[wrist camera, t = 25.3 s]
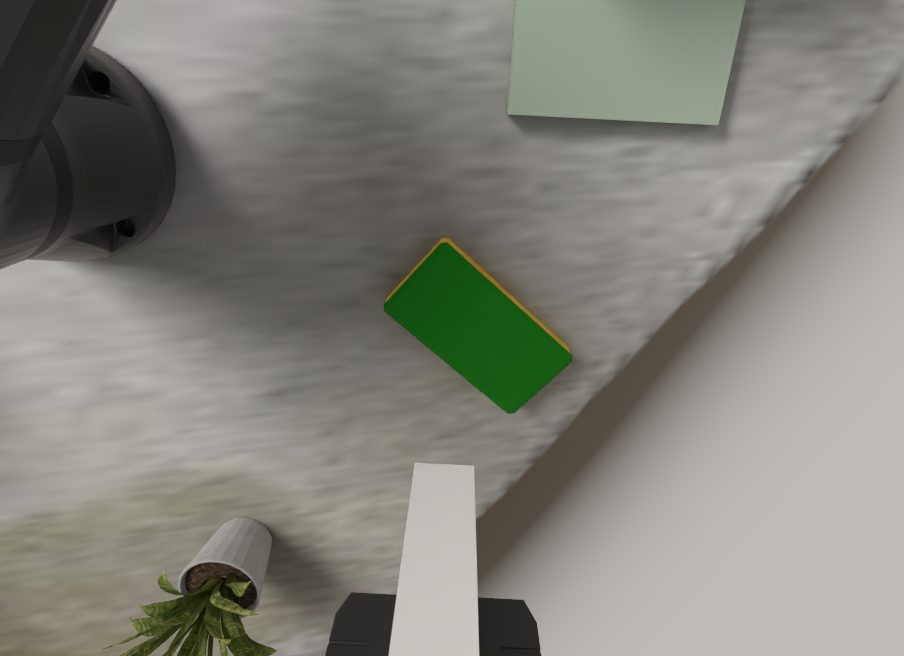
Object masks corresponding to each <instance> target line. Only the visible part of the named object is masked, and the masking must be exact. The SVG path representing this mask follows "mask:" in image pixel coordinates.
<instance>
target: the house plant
mask: <svg viewBox="0 0 904 656" xmlns="http://www.w3.org/2000/svg"><path fill="white" fill-rule="evenodd" d="M271 546H272V537H271V534H270V532H269V531H268V530H267V528H266V527H265V526H264V525H262V524H261V523H260V522H258V521H256V520H253V519H250V518H243V517H238V518H235V519H232V520H229V521H227V522H226V523H224V524H223V525H222V526H221V527H220V528H219V529H218V530H217V532H216V533H215V534H214V535H213V536H212V537H211V539H210V540H209V541H208V542H207V543H206V544H205V546H204V547H203V548H202V549H201V550H200V551H199V553H198V554H197V555H196V556H195V557H194V558H193V560H192V561H191V562H190V563H189V564H188V565H187V567H186V568H185V569H184V570H183V572H182V573H181V575H180V577H179V581H178V589H179V591H178V590H177V589H175V588H174V587H173V586H172V585H171V584H170V583H169V582H168V581H167V579H166V576H165V574H164V573H165V569H164V571H163V573H162V575H161V576H160V578H159V579H158V585H159V586H160V588H161V589H162V590H164V591H165V592H168V593H171V594H174V595H180V596H181V598H178V599H176V600H171V601H165V602H159V603H154V604H150V605H147V606H140V605H139V606H140V607H141V609H142V610H143V611H144V612H145V613H146V614H147V615H148V616H151V617H148V618H140V619H135V620H131V617H130V620H131V622H132V623H133V625H134V626H135V628H136V630H137V631H138V632H139V634H137V635H135V636H133V637H130V638H128V639H126V640H124V641H122V642H119V643H117V644H114V645H112V646H109V647H113V646H116V645H119V644H123V643H125V642H128V641H130V640H132V639H134V638H136V637H138V636H140V635H144V636H147V637H149V636H154V635H156V634H157V635H156V636H154V637H153V638H151V639H149V640H147V641H146V642H144V643H142V644H140V645H138V646H136V647H134V648H132V649H130V650H129V651H127V652H125V653H124V654H122V655H121V656H129V655H130V654H132V653H133V652H135V651H137V650H138V651H137V652H135V653H134V654H132V655H131V656H148V655H149V654H150V653H152V652H153V651H154V650H155V649H156V648H158V647H159V646H160V645H161V644H162V643H164V642H165V641H166V640H167V639H168V638H169V637H170V636H172V635H173V634H174V633H175V632H176V631H177V630H178V629H179V628H180V627H181V626H182V627H181V629H180V630H179V632H178V633H177V635H176V637H175V638H174V640H173V642H172V643H171V645H170V647H169V649H168V651H167V652H166V653H165V654H164V655H163V656H173V654H174V653H175V651H176V649H177V648H178V646H179V644H180V643H181V641H182V639H183V638H184V636H185V635H186V634H187V633H188V632H189V630H190V629H191V628H192V627H193V628H192V630H191V632H190V634H189V635H188V637H187V638H186V640H185V641H184V643H183V645H182V647H181V649H180V651H179V653H178V655H177V656H206V645H207V639H208V635H209V641H208V656H212V648H213V637H215V638H217V639H219V643H220V651H221V656H228V653H227V649H226V645H227V646H228V648H229V650H230V651H231V652H232V654H233V655H234V656H256V655H257V656H268V655H271V654H273V653H275V652H276V651H278V650H279V649H278V650H275V649H273V648H270V647H267V646H264V645H262V644H259V643H257V642H255V641H253V640H251V639H250V638H249V637H248V635H247V634H246V633H245V630H244V627H243V624H242V622H241V620H240V619H241V618H243V617H246V616H248V615H258V614H256V613H254V612H253V611H254V610H255V609H256V607H257V606H258V604H259V601H260V597H261V592H262V587H263V583H264V578H265V573H266V569H267V564H268V559H269V555H270V550H271ZM197 615H199V616H198V618H197V619H196V620H195V618H196V617H197ZM194 620H195V622H194V623H193V621H194ZM220 620H221V623H220ZM192 623H193V624H192ZM191 624H192V625H191ZM221 626H222V628H221ZM109 647H107V648H109ZM104 649H106V648H104ZM139 649H140V650H139Z"/></svg>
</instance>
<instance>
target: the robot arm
mask: <svg viewBox="0 0 904 656" xmlns="http://www.w3.org/2000/svg"><path fill="white" fill-rule="evenodd" d="M115 2H116V0H0V269H2V268H5V267H7V266H10V265H13V264H15V263H18V262H21V261H23V260H26V259H31V260H52V261H77V262H80V261H91V260H97V259H102V258H106V257H109V256H112V255H114V254H117V253H119V252H121V251H124V250H126V249H128V248H131V247H133V246H135V245H137V244H138V243H140V242H141V241H143V240H144V239H146V238H147V237H148V236H149V235H150V234H151V233H152V232H153V231H154V230H155V229H156V228H157V227H158V226H159V224H160V223H161V221H162V220H163V218H164V217H165V215H166V213H167V211H168V208H169V206H170V203H171V200H172V196H173V192H174V185H175V160H174V153H173V148H172V144H171V140H170V137H169V134H168V131H167V128H166V126H165V123H164V121H163V119H162V117H161V115H160V113H159V111H158V109H157V107H156V106H155V104H154V102H153V101H152V99H151V98H150V96H149V95H148V94H147V92H146V91H145V90H144V88H143V87H142V86H141V85H140V83H139V82H138V81H137V80H136V79H135V78H134V77H133V76H132V75H131V74H130V73H129V72H128V71H127V70H126V69H125V68H124V67H122V66H121V65H120V64H119V63H118V62H116V61H115V60H114V59H112V58H111V57H110V56H108V55H107V54H105V53H104V52H102V51H100V50H99V49H97V48H95V47H93V46H92V45H93V43H94V41H95V40H96V38H97V36H98V34H99V32H100V30H101V28H102V27H103V25H104V23H105V21H106V19H107V17H108V15H109V13H110V12H111V10H112V8H113V6H114V4H115ZM476 556H477V555H476V518H475V482H474V466H469V465H450V464H430V463H415V464H414V471H413V479H412V486H411V493H410V501H409V508H408V516H407V523H406V530H405V538H404V545H403V552H402V560H401V567H400V574H399V582H398V589H397V595H388V594H369V593H351V594H350V595H349V596H348V598H347V599H346V601H345V602H344V603H343V605H342V606H341V607H340V609H339V610H338V612H337V613H336V615H335V619H334V623H333V627H332V631H331V635H330V639H329V645H328V647H327V651H326V655H325V656H541V654H540V643H539V636H538V629H537V623H536V621H535V619H534V617H533V616H532V614H531V612H530V610H529V609H528V607H527V605H526V604H525V602H524V600H512V599H493V598H478V594H477V592H478V591H477V557H476Z"/></svg>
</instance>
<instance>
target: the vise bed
mask: <svg viewBox="0 0 904 656" xmlns="http://www.w3.org/2000/svg"><path fill="white" fill-rule="evenodd" d="M745 2H746V0H516V1H515V13H514V26H513V38H512V51H511V64H510V76H509V89H508V101H507V114H509V115H528V116H547V117H567V118H586V119H606V120H625V121H644V122H664V123H683V124H703V125H719V121H720V116H721V112H722V107H723V102H724V98H725V93H726V89H727V84H728V80H729V75H730V71H731V66H732V61H733V57H734V52H735V48H736V43H737V39H738V34H739V30H740V25H741V21H742V16H743V11H744V7H745Z"/></svg>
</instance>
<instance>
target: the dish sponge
mask: <svg viewBox="0 0 904 656" xmlns="http://www.w3.org/2000/svg"><path fill="white" fill-rule="evenodd" d="M384 311H385V312H386V313H387V314H388V315H390V316H391V317H392V318H393V319H394V320H396V321H397V322H398V323H399V324H400V325H402V326H403V327H404V328H405V329H407V330H408V331H409V332H410V333H411V334H413V335H414V336H415V337H416V338H417V339H419V340H420V341H421V342H422V343H423V344H425V345H426V346H427V347H428V348H429V349H431V350H432V351H433V352H434V353H435V354H437V355H438V356H439V357H440V358H441V359H443V360H444V361H445V362H446V363H447V364H449V365H450V366H451V367H452V368H454V369H455V370H456V371H457V372H458V373H460V374H461V375H462V376H463V377H464V378H466V379H467V380H468V381H469V382H470V383H472V384H473V385H474V386H475V387H476V388H478V389H479V390H480V391H481V392H482V393H484V394H485V395H486V396H487V397H488V398H490V399H491V400H492V401H493V402H494V403H496V404H497V405H498V406H499V407H500V408H502V409H503V410H504V411H505V412H507V413H508V414H509V413H515V412H516V411H517V410H518V409H519V408H520V407H521V406H523V405H524V404H525V403H526V402H527V401H528V400H529V399H530V398H532V397H533V396H534V395H535V394H536V393H537V392H538V391H539V390H541V389H542V388H543V387H544V386H545V385H546V384H547V383H548V382H550V381H551V380H552V379H553V378H554V377H555V376H556V375H557V374H559V373H560V372H561V371H562V370H563V369H564V368H565V367H566V366H568V365H569V364H570V363H571V362H572V355H571V353H570V350H569V348H568V346H567V345H566V344H565V343H564V342H563V341H562V340H560V339H559V338H558V337H557V336H556V335H555V334H554V333H553V332H552V331H551V330H549V329H548V328H547V327H546V326H545V325H544V324H543V323H542V322H541V321H539V320H538V319H537V318H536V317H535V316H534V315H533V314H532V313H531V312H530V311H528V310H527V309H526V308H525V307H524V306H523V305H522V304H521V303H520V302H519V301H517V300H516V299H515V298H514V297H513V296H512V295H511V294H510V293H509V292H507V291H506V290H505V289H504V288H503V287H502V286H501V285H500V284H499V283H498V282H496V281H495V280H494V279H493V278H492V277H491V276H490V275H489V274H488V273H486V272H485V271H484V270H483V269H482V268H481V267H480V266H479V265H478V264H477V263H475V262H474V261H473V260H472V259H471V258H470V257H469V256H468V255H467V254H466V253H464V252H463V251H462V250H461V249H460V248H459V247H458V246H457V245H456V244H454V243H453V242H452V241H451V240H450V239H449V238H441V239H440V240H439V241H438V242H437V244H436V245H435V246H434V247H433V248H432V249H431V250H430V251H429V252H428V253H427V254H426V255H425V257H424V258H423V259H422V260H421V261H420V262H419V263H418V264H417V265H416V266H415V267H414V268H413V270H412V271H411V272H410V273H409V274H408V275H407V276H406V277H405V278H404V279H403V280H402V281H401V282H400V284H399V285H398V286H397V287H396V288H395V289H394V290H393V291H392V292H391V293H390V294H389V295H388V297H387V298H386V301H385V304H384Z"/></svg>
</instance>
